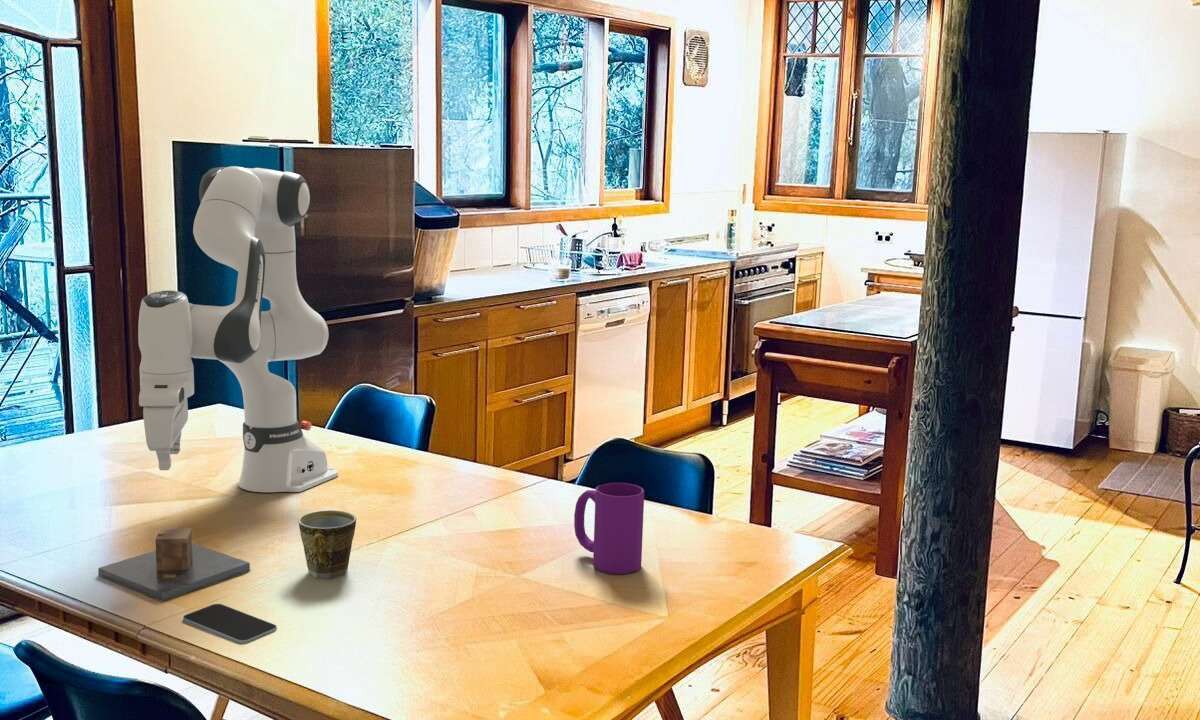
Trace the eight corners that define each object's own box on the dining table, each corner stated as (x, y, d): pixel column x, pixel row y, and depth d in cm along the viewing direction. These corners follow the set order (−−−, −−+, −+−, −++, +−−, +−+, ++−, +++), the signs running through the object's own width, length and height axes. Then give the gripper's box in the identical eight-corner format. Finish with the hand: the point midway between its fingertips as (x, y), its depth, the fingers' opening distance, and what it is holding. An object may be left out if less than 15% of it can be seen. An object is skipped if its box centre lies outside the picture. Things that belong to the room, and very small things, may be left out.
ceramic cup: (308, 561, 211) (307, 509, 209) (362, 563, 211) (362, 511, 209) (287, 587, 198) (286, 532, 196) (344, 590, 198) (344, 535, 196)
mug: (618, 579, 207) (621, 500, 204) (557, 557, 217) (559, 481, 215) (651, 567, 214) (655, 489, 211) (590, 545, 224) (593, 471, 221)
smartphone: (242, 642, 176) (179, 616, 184) (242, 647, 176) (179, 622, 184) (280, 626, 182) (217, 602, 190) (280, 631, 182) (217, 607, 190)
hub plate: (186, 548, 215) (185, 520, 214) (249, 570, 205) (249, 541, 204) (98, 576, 201) (97, 546, 200) (162, 601, 191) (160, 570, 190)
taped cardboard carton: (192, 559, 206) (191, 526, 205) (187, 569, 201) (186, 536, 200) (162, 560, 205) (160, 527, 204) (156, 571, 200) (155, 537, 199)
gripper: (159, 371, 210) (161, 444, 212) (136, 399, 190) (139, 479, 193) (195, 371, 211) (197, 444, 214) (176, 399, 191) (179, 478, 194)
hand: (169, 461), depth 203 cm, fingers open, 8 cm apart
